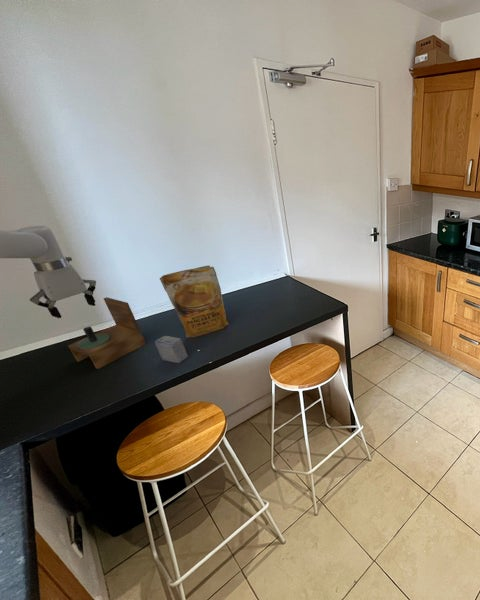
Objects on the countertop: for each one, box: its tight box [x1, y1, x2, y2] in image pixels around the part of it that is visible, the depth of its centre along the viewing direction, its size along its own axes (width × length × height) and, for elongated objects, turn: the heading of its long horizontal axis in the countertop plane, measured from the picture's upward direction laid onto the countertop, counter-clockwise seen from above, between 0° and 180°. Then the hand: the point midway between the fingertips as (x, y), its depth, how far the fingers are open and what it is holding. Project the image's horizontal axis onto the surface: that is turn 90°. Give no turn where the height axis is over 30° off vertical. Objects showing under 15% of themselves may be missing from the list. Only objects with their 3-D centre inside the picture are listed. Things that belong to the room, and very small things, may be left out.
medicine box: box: [154, 335, 189, 364], centre depth 117 cm, size 8×4×9 cm, turn 74°
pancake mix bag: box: [159, 265, 229, 339], centre depth 130 cm, size 7×19×28 cm, turn 129°
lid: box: [78, 326, 110, 349], centre depth 115 cm, size 9×9×6 cm
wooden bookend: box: [67, 297, 147, 370], centre depth 118 cm, size 17×13×19 cm
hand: (75, 310), depth 110 cm, fingers open, 9 cm apart
